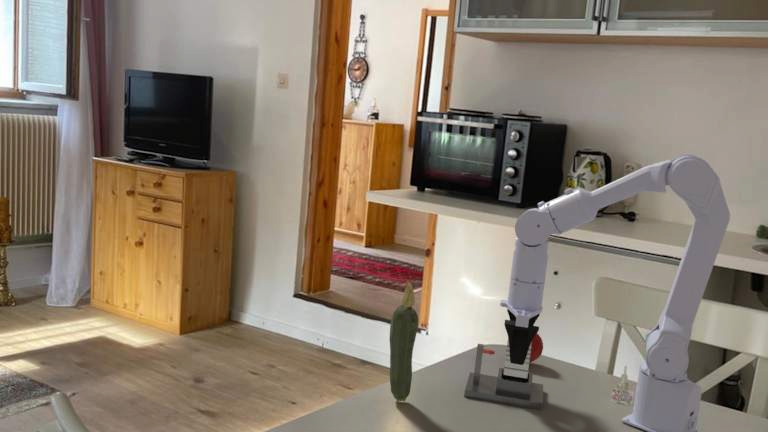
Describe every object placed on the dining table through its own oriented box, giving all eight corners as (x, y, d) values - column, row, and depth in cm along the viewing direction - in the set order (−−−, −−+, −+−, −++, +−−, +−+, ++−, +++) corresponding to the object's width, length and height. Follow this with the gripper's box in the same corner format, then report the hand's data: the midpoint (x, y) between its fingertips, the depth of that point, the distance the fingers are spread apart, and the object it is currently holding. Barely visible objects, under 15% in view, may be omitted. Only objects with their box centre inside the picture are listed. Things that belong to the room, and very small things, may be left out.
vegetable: (406, 410, 117) (419, 287, 114) (380, 405, 118) (392, 284, 115) (411, 400, 121) (424, 281, 118) (385, 395, 122) (397, 278, 119)
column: (527, 370, 129) (531, 339, 128) (527, 378, 125) (531, 346, 124) (504, 367, 129) (508, 335, 129) (503, 374, 126) (507, 342, 125)
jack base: (542, 390, 131) (548, 347, 130) (541, 410, 122) (548, 363, 121) (469, 378, 134) (474, 336, 132) (464, 396, 125) (469, 351, 124)
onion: (508, 365, 143) (513, 326, 142) (512, 357, 148) (517, 318, 147) (539, 371, 141) (544, 331, 140) (541, 362, 147) (547, 323, 145)
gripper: (506, 267, 133) (497, 340, 135) (501, 285, 118) (491, 366, 120) (545, 273, 131) (536, 346, 133) (545, 291, 117) (535, 373, 119)
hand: (517, 356), depth 127 cm, fingers open, 7 cm apart
